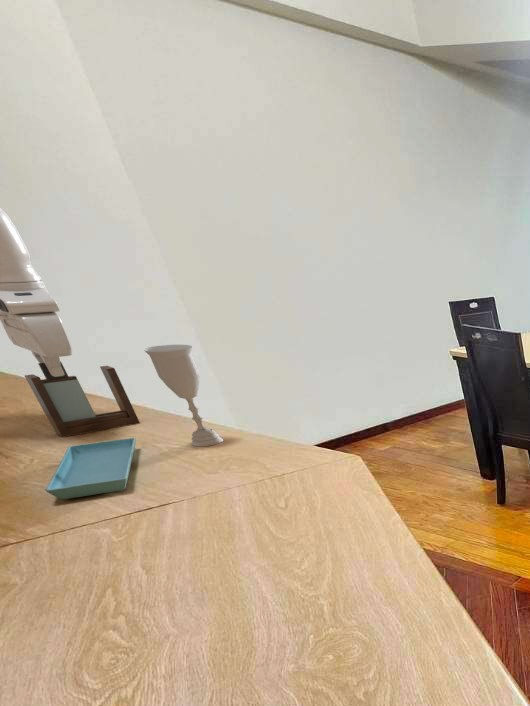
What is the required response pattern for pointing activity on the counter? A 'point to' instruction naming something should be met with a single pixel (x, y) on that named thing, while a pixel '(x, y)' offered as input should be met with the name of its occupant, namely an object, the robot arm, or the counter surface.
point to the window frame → (88, 424)
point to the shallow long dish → (93, 469)
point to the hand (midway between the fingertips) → (55, 375)
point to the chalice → (182, 383)
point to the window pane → (67, 396)
